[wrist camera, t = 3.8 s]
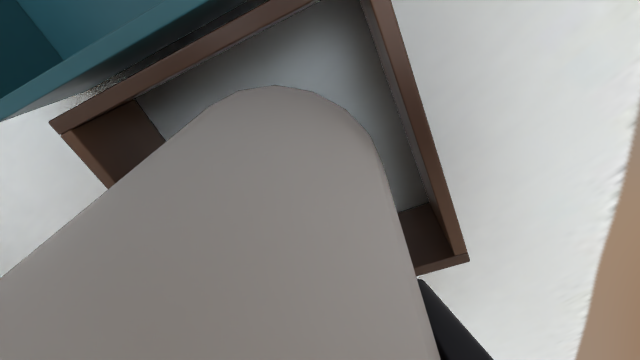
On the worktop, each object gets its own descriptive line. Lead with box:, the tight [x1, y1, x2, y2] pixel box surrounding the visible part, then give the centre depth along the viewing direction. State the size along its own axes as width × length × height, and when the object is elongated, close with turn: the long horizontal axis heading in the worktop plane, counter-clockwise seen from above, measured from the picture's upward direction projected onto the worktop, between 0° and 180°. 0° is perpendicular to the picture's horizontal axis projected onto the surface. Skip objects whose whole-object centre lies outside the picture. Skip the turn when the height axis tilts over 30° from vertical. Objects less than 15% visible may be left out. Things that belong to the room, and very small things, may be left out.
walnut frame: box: [49, 0, 470, 276], centre depth 13 cm, size 11×11×4 cm
